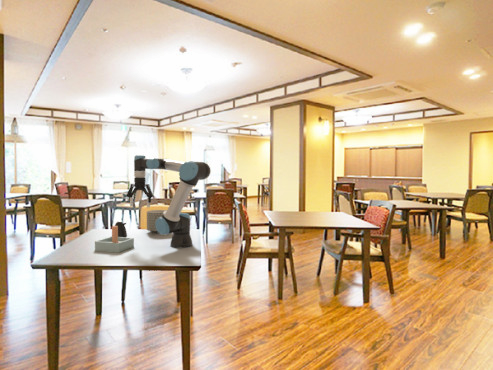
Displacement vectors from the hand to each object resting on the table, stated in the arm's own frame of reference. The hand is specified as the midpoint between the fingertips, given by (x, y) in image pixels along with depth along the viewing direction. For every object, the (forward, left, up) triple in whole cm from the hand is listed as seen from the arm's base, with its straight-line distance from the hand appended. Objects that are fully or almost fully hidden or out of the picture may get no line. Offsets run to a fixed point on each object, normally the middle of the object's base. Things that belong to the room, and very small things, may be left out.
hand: (139, 206), depth 218 cm
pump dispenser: (+17, 0, -27) cm, 32 cm away
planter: (+8, -39, -27) cm, 48 cm away
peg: (+8, +17, -26) cm, 32 cm away
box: (+8, +17, -27) cm, 32 cm away
